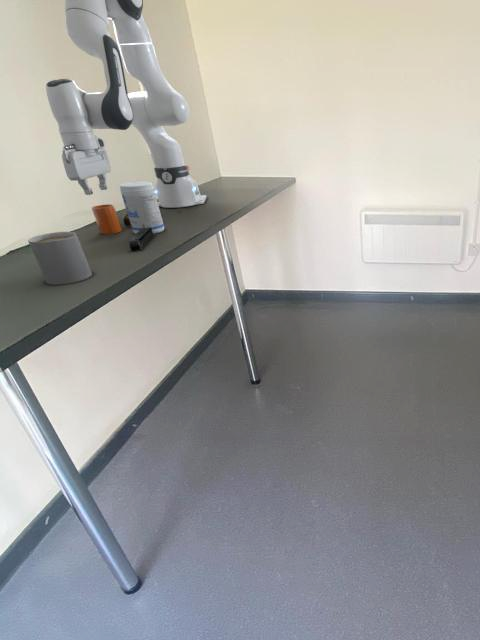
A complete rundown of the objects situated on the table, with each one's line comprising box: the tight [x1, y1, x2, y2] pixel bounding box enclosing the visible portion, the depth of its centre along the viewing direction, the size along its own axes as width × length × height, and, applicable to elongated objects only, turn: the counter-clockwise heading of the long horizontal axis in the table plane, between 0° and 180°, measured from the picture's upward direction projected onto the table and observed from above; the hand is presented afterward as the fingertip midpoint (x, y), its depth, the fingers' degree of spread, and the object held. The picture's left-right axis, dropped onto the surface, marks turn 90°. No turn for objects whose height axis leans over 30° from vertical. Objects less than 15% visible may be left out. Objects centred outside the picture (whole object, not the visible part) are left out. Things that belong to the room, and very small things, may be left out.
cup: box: [91, 203, 123, 235], centre depth 158 cm, size 6×6×8 cm
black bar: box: [128, 227, 155, 252], centre depth 145 cm, size 18×3×3 cm, turn 11°
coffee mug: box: [28, 231, 93, 286], centre depth 118 cm, size 13×10×10 cm
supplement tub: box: [119, 181, 165, 235], centre depth 154 cm, size 10×10×15 cm
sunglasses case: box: [123, 213, 132, 228], centre depth 171 cm, size 18×7×7 cm
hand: (97, 192), depth 153 cm, fingers open, 8 cm apart
